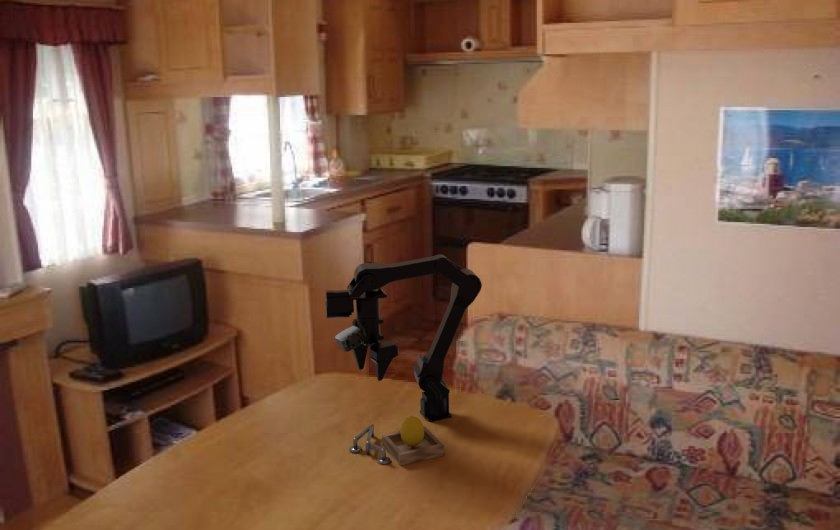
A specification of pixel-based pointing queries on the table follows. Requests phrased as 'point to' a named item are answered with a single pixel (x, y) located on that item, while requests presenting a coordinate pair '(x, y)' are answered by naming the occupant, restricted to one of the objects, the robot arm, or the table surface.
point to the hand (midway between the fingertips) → (370, 374)
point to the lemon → (412, 431)
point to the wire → (369, 445)
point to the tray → (407, 454)
